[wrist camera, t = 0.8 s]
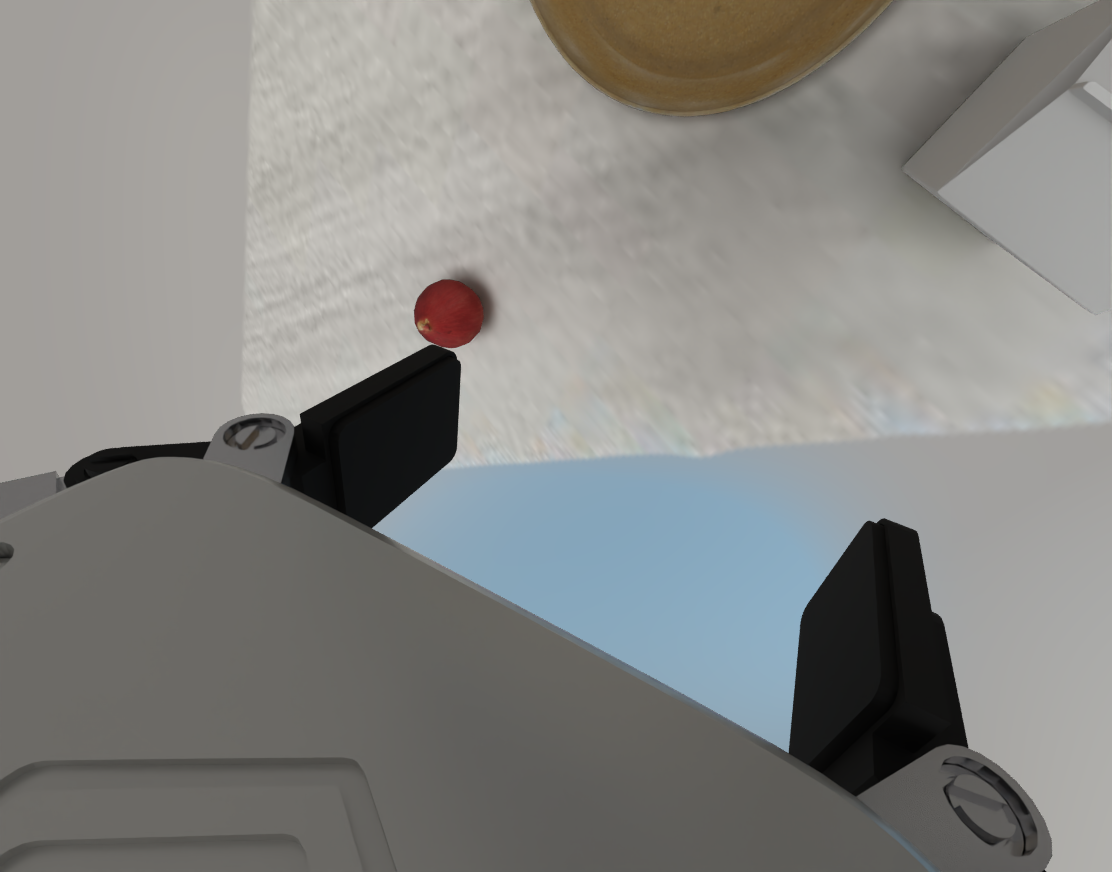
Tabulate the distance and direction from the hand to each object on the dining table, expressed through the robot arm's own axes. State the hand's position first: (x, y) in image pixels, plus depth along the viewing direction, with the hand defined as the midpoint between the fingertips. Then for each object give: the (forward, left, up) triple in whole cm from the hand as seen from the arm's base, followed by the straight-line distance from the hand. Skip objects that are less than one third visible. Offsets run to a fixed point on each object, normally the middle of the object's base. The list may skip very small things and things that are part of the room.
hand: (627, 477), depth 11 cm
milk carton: (-12, 0, -31) cm, 33 cm away
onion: (+26, -5, -31) cm, 40 cm away
